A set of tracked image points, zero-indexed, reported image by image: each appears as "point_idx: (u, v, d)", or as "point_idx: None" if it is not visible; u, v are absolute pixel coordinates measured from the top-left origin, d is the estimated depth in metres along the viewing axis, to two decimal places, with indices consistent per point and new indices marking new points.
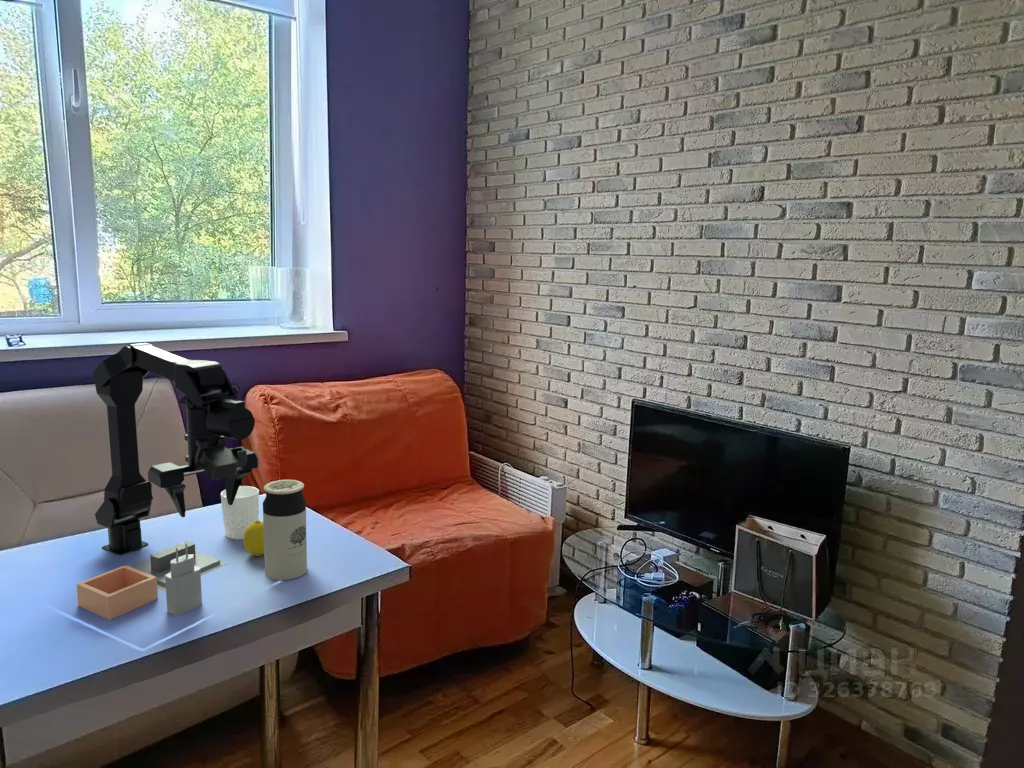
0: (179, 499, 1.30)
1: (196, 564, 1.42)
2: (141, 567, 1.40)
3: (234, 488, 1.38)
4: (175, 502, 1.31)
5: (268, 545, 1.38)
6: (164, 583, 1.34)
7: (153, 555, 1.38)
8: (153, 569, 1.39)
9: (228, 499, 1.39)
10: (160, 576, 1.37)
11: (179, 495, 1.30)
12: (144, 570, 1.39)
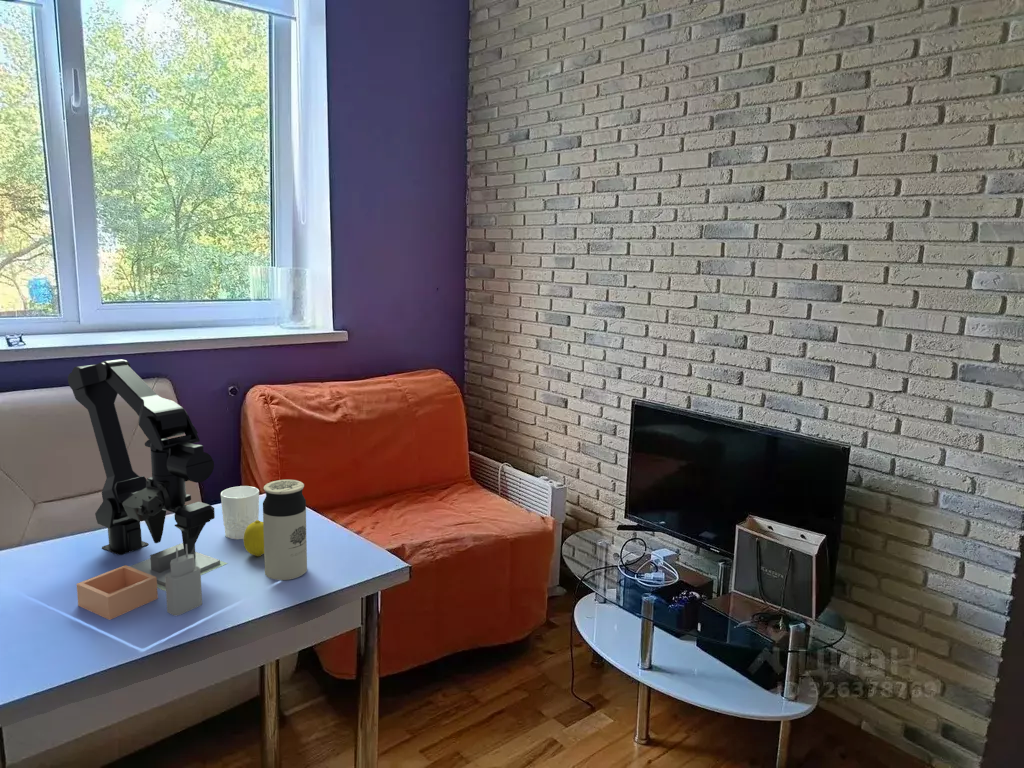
0: (147, 524, 1.42)
1: (196, 564, 1.42)
2: (141, 567, 1.40)
3: (183, 538, 1.37)
4: None
5: (268, 545, 1.38)
6: (164, 583, 1.34)
7: (153, 555, 1.38)
8: (153, 569, 1.39)
9: None
10: (160, 576, 1.37)
11: (146, 521, 1.42)
12: (144, 570, 1.39)
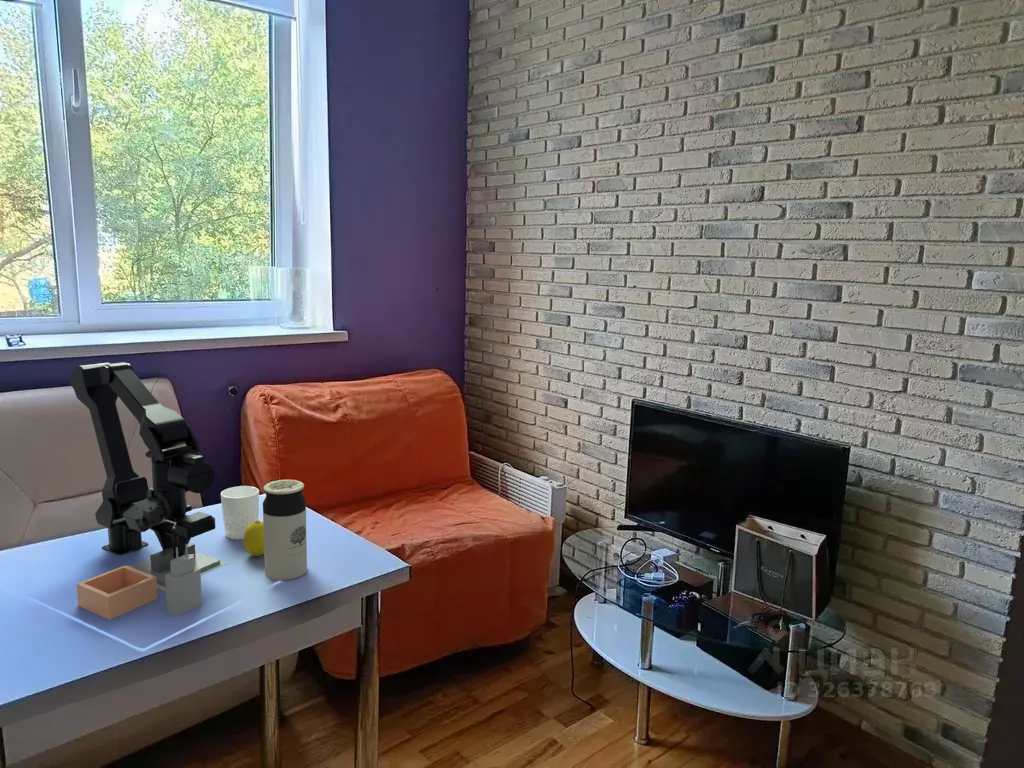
0: (158, 538, 1.41)
1: (196, 564, 1.42)
2: (141, 567, 1.40)
3: (173, 545, 1.39)
4: None
5: (268, 545, 1.38)
6: (164, 583, 1.34)
7: (153, 555, 1.38)
8: (153, 569, 1.39)
9: None
10: (160, 576, 1.37)
11: (157, 534, 1.41)
12: (144, 570, 1.39)
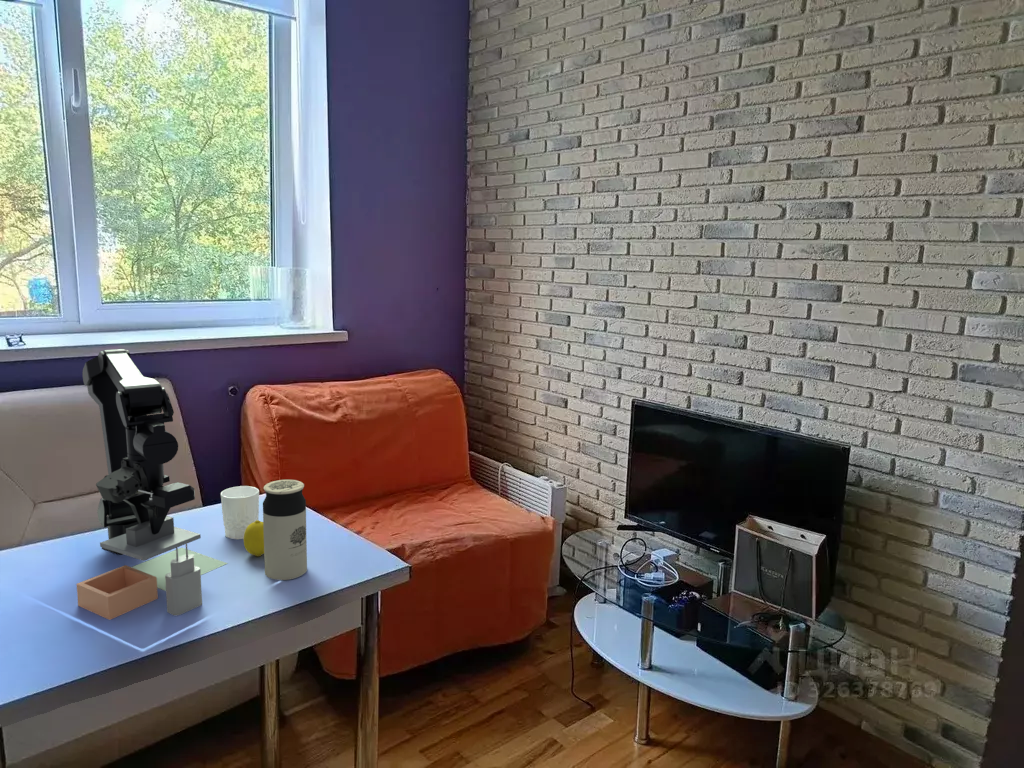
0: (134, 511, 1.34)
1: (175, 538, 1.35)
2: (116, 542, 1.32)
3: (149, 518, 1.32)
4: None
5: (268, 545, 1.38)
6: (141, 557, 1.27)
7: (129, 528, 1.31)
8: (129, 543, 1.31)
9: None
10: (136, 550, 1.29)
11: (133, 507, 1.33)
12: (119, 545, 1.31)
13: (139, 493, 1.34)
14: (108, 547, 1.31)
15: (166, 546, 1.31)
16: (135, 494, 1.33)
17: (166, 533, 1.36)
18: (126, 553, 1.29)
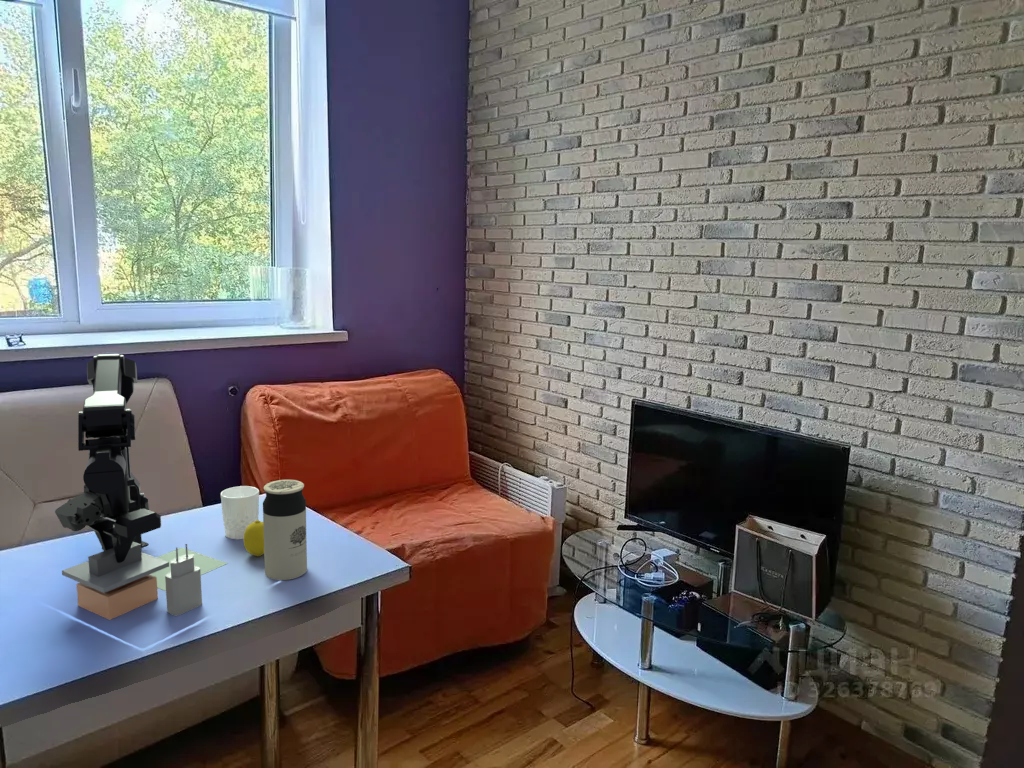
0: (98, 538, 1.26)
1: (141, 567, 1.27)
2: (78, 570, 1.25)
3: (114, 545, 1.24)
4: None
5: (268, 545, 1.38)
6: (102, 588, 1.19)
7: (91, 557, 1.24)
8: (92, 572, 1.24)
9: None
10: (98, 580, 1.22)
11: (97, 534, 1.26)
12: (81, 573, 1.24)
13: (104, 518, 1.26)
14: (70, 576, 1.24)
15: (130, 576, 1.23)
16: (99, 520, 1.26)
17: (133, 561, 1.28)
18: (87, 583, 1.21)
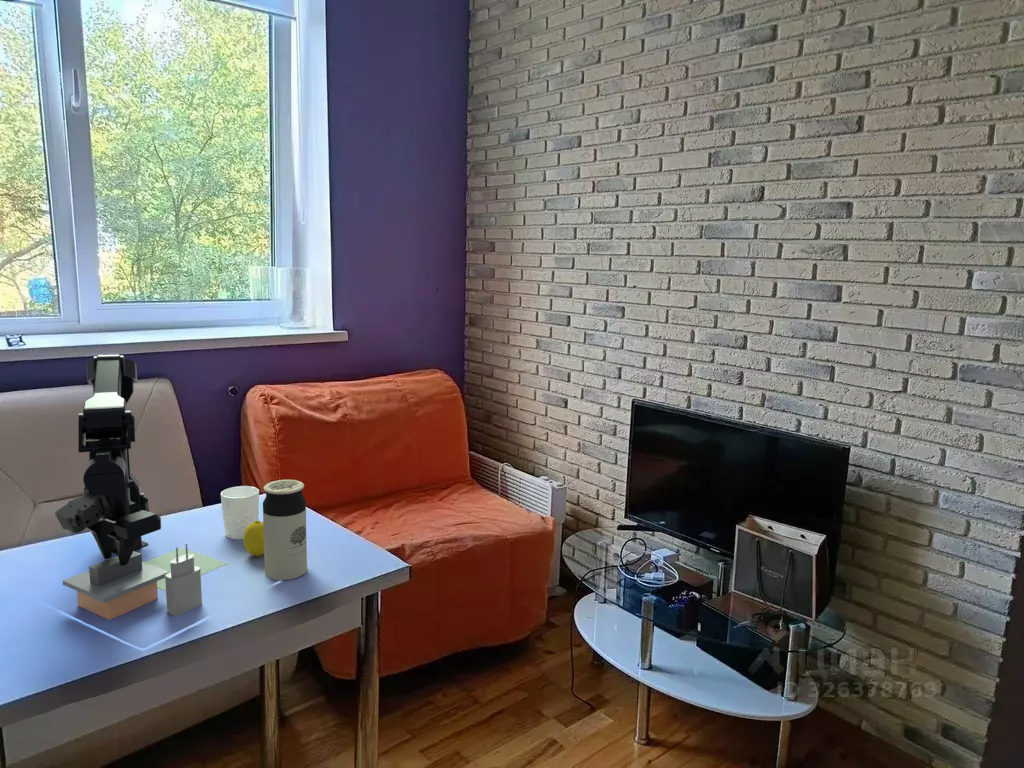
0: (95, 538, 1.27)
1: (142, 576, 1.27)
2: (79, 580, 1.25)
3: (117, 548, 1.24)
4: None
5: (268, 545, 1.38)
6: (102, 598, 1.20)
7: (92, 567, 1.24)
8: (92, 582, 1.24)
9: None
10: (99, 590, 1.22)
11: (94, 534, 1.26)
12: (82, 583, 1.24)
13: (101, 519, 1.27)
14: (70, 586, 1.24)
15: (131, 586, 1.24)
16: (96, 520, 1.26)
17: (133, 570, 1.29)
18: (88, 593, 1.22)
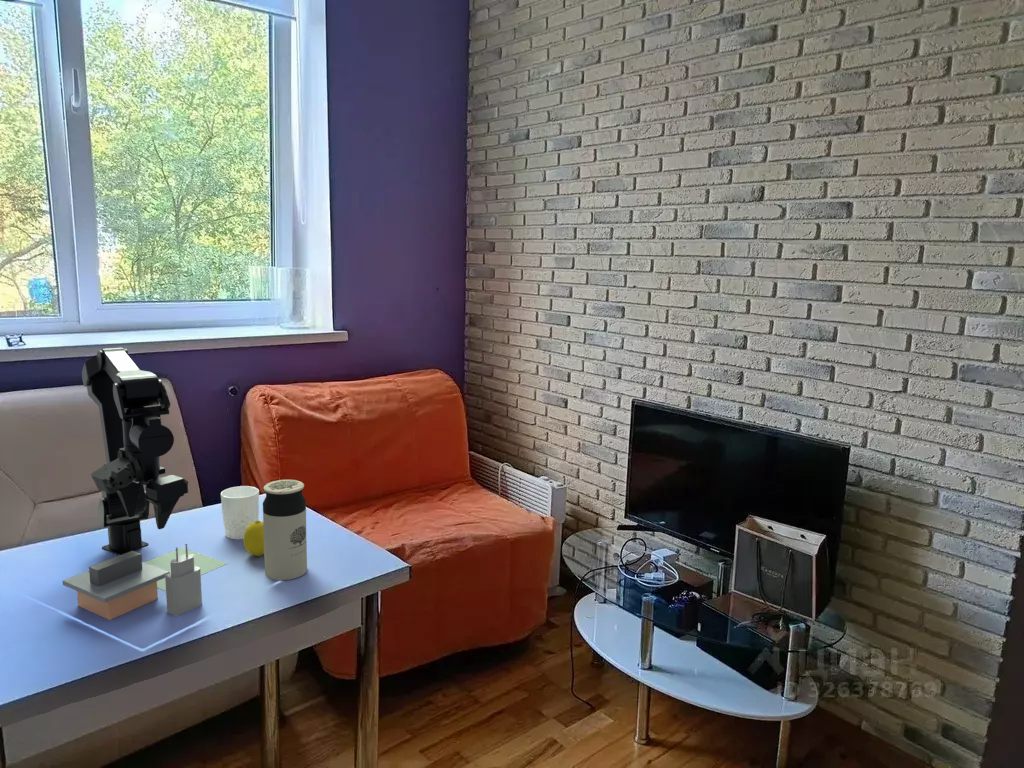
0: (120, 497, 1.36)
1: (142, 576, 1.27)
2: (79, 580, 1.25)
3: (155, 513, 1.31)
4: None
5: (268, 545, 1.38)
6: (102, 598, 1.20)
7: (92, 567, 1.24)
8: (92, 582, 1.24)
9: None
10: (99, 590, 1.22)
11: (119, 494, 1.36)
12: (82, 583, 1.24)
13: None
14: (70, 586, 1.24)
15: (131, 586, 1.24)
16: None
17: (133, 570, 1.29)
18: (88, 593, 1.22)
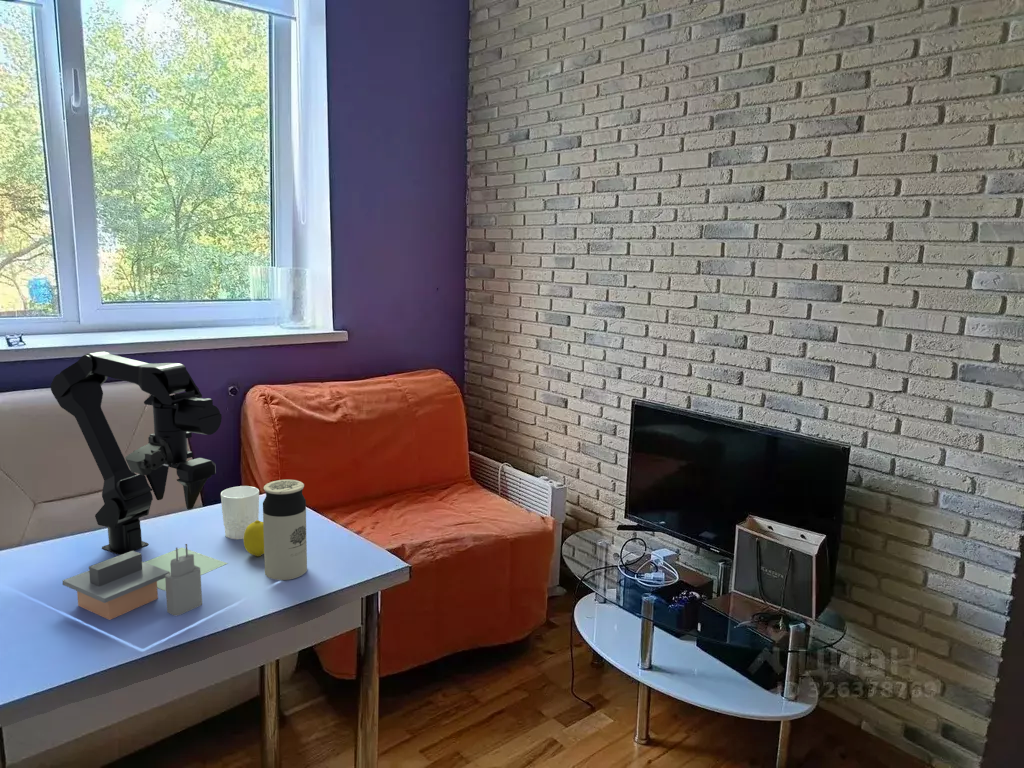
0: (149, 481, 1.45)
1: (142, 576, 1.27)
2: (79, 580, 1.25)
3: (184, 493, 1.40)
4: None
5: (268, 545, 1.38)
6: (102, 598, 1.20)
7: (92, 567, 1.24)
8: (92, 582, 1.24)
9: None
10: (99, 590, 1.22)
11: (148, 478, 1.44)
12: (82, 583, 1.24)
13: None
14: (70, 586, 1.24)
15: (131, 586, 1.24)
16: None
17: (133, 570, 1.29)
18: (88, 593, 1.22)
